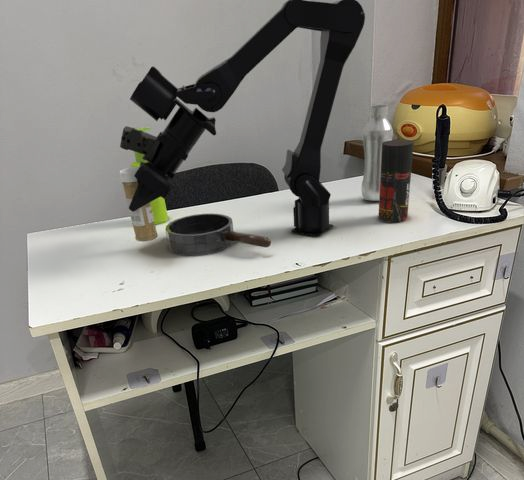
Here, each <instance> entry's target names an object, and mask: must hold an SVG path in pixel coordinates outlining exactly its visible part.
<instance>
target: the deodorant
mask: <svg viewBox="0 0 524 480" xmlns="http://www.w3.org/2000/svg"><path fill="white" fill-rule="evenodd" d="M414 144H415V142H414V141H413V140H409V139H392V140H391V141H386V142H383V143H382V158H381V177H380V196H379V200H378V215H377V216H378V218H377V219H378V221H380V222H382V223H387V224H398V223H399V224H400V223H403V222H405V221H407V220H408V213H409V202H410V192H411V191H410V190H411V178H412V167H413V157H414V155H413V154H414Z"/></svg>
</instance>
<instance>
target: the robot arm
mask: <svg viewBox="0 0 524 480" xmlns="http://www.w3.org/2000/svg"><path fill="white" fill-rule="evenodd" d="M365 21H366V13H365V11H364V9H363V7H362V5H361V4H360V2H359V1H358V0H338V1H337V0H336V1H334V2H324V1H314V0H286V1H285V2H284V3H283V4H282V6H281V7H280V9H279V10H278V11H276V12H275V13H274V15H272V16H271V17H270V19H268V21H266V22H265V23H264V24H263V25H262V26H261V27H260V28H259V29H258V30H257V31H256V32H255V33H254V34H252V36H251V37H250V38H249V39H248V40H247V41H245V42H244V43H243V45H241V46H240V47H239V48H238V49H237V50H236V51H235V52H234V53H233V54H231V56H230V57H228V58H226V59H225V60H224V61H221V62H220V63H219V64H217V65H215V66H214V67H212V68H211V69H209V70H208V71H206V72H205V73H203V74H201V75H200V76H199V77H198V78H197V79H196V81H195V82H194V83H193V84H189V85H182V86H181V87H177V86H176V85H174V84H173V83H172V82H171V81H170V80H169V79H168V78H166V76H165V75H163V74H162V72H161V71H160V70H159V69H158V68H156V66H151V67H150V68H149V69H148V71H147V73H146V74H145V76H144V77H143V79H142V80H141V81H140V82H138V84H137V86H136V87H135V89H134V90H133V92H132V94H131V96H130V97H129V100H130V101H131V102H132V103H133V104H134V105H136V106H137V107H138V108H139V109H141V110H142V111H143V112H144V113H146V114H147V115H148V116H149V117H150V118H152V119H153V120H154V121H156V122H158V121H159V119H160V120H164V121H165V122H166V121H167V120H168V118H169V117H170V115H171V113H172V112H173V110H174V109H175V107H176V106H178V107H179V108H178V109H177V110H176V111H175V113H174V115H173V116H172V118H171V119H170V120H169V122H168V123H167V125H166V126H165V128H164V129H163V131H159V133H158V134H157V136H155V135H153V134H150V133H148V132H147V131H144V132H143V131H141V130H137V129H136V127H132V126H128V125H126V126H124V128H123V129H122V134H121V137H120V139H121V140H120V143H119V144H120V145H119V148H120V149H123V150H126V151H128V150H129V151H132V152H134V151H135V152H138V153H141V154H144V156H143V158H142V159H144V160H147V162H146V163H143V162H141V163H140V166H139V168H138V170H137V171H136V173H135V175H134V176H135V178H136V179H137V182H138V187H137V189H136V191H135V194H134V196H133V199H132V201H131V203H130V206H129V209H130V210H131V211H133V212H134V211H136V210H137V209H139V208H141V207H143V206H144V205H146V204H148V203H150V202H151V201H153V200H155V199H157V198H159V197H162V198H164V199H165V198H166V197H167V196H168V195H169V193H170V191H172V190H171V189H172V181H171V180H173V179H174V177H175V176H176V172H177V171H178V170H179V168H180V166H181V165H182V164H183V163H184V162H185V161H187V158H188V157H189V154H190V152H191V151H192V149H193V148H194V147H195V145H196V144H197V142H198V140H199V139H200V138H201V136H202V135H203V133H204V132H206V131H207V132H208V133H210V134H211V135H212V136H217V129H216V122H217V121H216V117H215V116H213V117H208V116H207V115H205V113H203V112H202V111H204V112H206V113H217V112H219V111H220V110H222V109H223V108H224V106H226V104H227V103H228V102H229V100H230V99H231V97H232V96H233V94H234V93H235V92H236V91H237V89H238V87H239V86H240V84H241V83H242V82H243V80H244V79H245V77H246V76H247V75H248V74H249V73H250V72H252V71H253V69H254V68H255V67H257V65H259V64H260V63H261V62H262V61H263V60H264V59H265V58H267V56H268V55H270V54H271V52H273V50H275V49H276V48H277V47H278V46H279V45H280V44H281V43H283V41H284V40H286V38H288V37H289V35H291V34H293V32H294V31H295V30H296V29H297V28H299V29H303V30H309V31H316V32H320V39H319V40H320V42H319V45H320V48H319V49H320V50H319V51H320V52H319V54H320V55H319V56H320V57H319V63H318V68H317V70H316V75H315V79H314V83H313V87H312V91H311V96H310V99H309V103H308V107H307V111H306V115H305V119H304V123H303V127H302V131H301V134H300V138H299V142H298V144H297V146H296V148H295V149H294V150H290V149H287V150H286V157H285V163H284V166H283V167H282V168H281V171H282V173H283V174H284V175H283V177H284V178H283V179H284V181H285V184H286V185H287V187H288V188H289V190H290V191H291V193H292V194H293V195H294V196H295V197H297V199H295V200H294V206H293V209H292V210H293V211H292V212H293V227H294V228H292V229H291V233H293V234H298V235H299V234H300V235H306V236H312V237H320V236H321V235H323V234H325V233H326V232H328V231H329V230H331V229H332V228H334V224H332V223H330V198H331V195H332V194H331V193H330V191H329V190H328V189H327V188H326V187H325V186H324V185H323V183H321V181H320V177H321V168H322V167H321V166H322V165H321V164H322V162H321V159H322V157H321V156H322V146H323V142H324V138H325V135H326V132H327V128H328V124H329V120H330V117H331V113H332V109H333V106H334V102H335V99H336V95H337V91H338V88H339V85H340V82H341V81H340V80H341V77H342V73H343V70H344V67H345V64H346V62H347V61H348V59H349V58H350V55H351V53H352V52H353V50H354V49H355V47H356V45H357V43H358V40H359V38H360V35H361V33H362V31H363V29H364V26H365ZM185 104H186V105H195V106H198V107H199V109H198V107H195V108H194V109H193V110H191V109H190V108H189V107H187V106H186V105H185ZM200 109H201V110H202V111H201V110H200ZM129 209H128V210H129Z"/></svg>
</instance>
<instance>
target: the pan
mask: <svg viewBox="0 0 524 480" xmlns="http://www.w3.org/2000/svg"><path fill="white" fill-rule="evenodd" d="M228 229H230V231H232V232H235V231H234V230H235V229H234V223H233V218H232V217H230V216H229V215H225V214H222V213H198V214H197V213H196V214H191V215H187V216H183V217H179V218H177V219H176V218H175V219H174V220H172V221H170V222H169V223H168V224H167V225H166V226H165V234H166V239H167V240H166V241H167V245H168V249H169V250H170V251H171V252H172V253H174V254H177V255H180V256H203V255H204V256H205V255H211V254H215V253H218V252H221V251H224V250H225V249H227V248H229V247H231V246H232V245H233V244H234V243H235V242H233V241H228V240H227V241H225V242H223V241H222V235H221V232H224V231H226V230H228Z"/></svg>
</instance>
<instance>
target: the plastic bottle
mask: <svg viewBox="0 0 524 480" xmlns="http://www.w3.org/2000/svg"><path fill="white" fill-rule="evenodd" d="M368 116H369V117H370V119H369V120H368V121H367V123H366V125H365V126H364V128H363V130H362V142H363V143H362V144H363V154H364V155H363V156H364V166H363V176H362V177H363V179H362V182H361V186H360V187H361V188H360V191H361V196H362V198H363V199H364V200H366V201H373V202H374V201H375V202H377V201H378V202H379V196H380V177H381V158H382V143H383V142H386V141H391V140H393V137H394V130H393V126H392V125H391V122H390V121H389V120H388V118H387V116H389V105H387V104H378V105H371V106H370V108H369V115H368Z"/></svg>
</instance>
